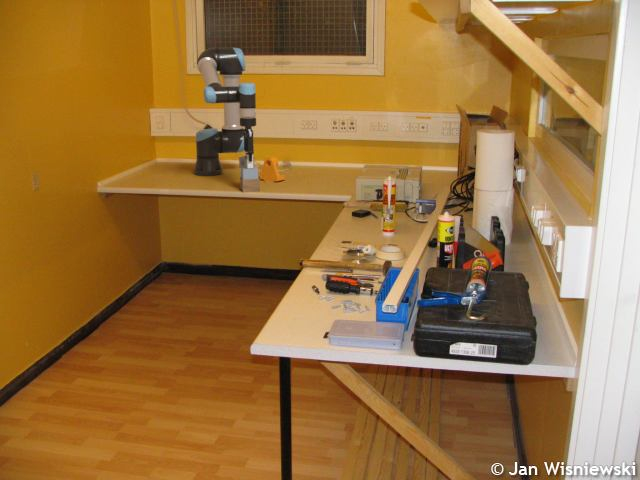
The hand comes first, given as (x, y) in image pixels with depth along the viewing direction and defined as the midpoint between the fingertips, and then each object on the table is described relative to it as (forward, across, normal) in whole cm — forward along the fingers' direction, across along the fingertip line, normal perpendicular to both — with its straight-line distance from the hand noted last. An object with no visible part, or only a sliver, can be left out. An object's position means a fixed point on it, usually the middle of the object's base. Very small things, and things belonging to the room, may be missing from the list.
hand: (249, 166), depth 318 cm
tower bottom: (+11, 0, 0) cm, 11 cm away
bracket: (+11, +20, -15) cm, 27 cm away
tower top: (+5, 0, 0) cm, 5 cm away
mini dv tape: (+12, -63, -63) cm, 90 cm away
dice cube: (+1, 0, +1) cm, 1 cm away
